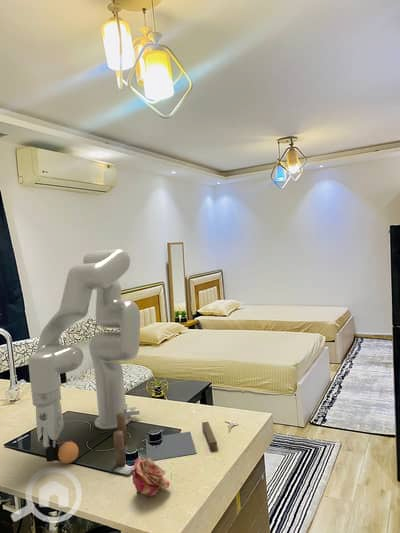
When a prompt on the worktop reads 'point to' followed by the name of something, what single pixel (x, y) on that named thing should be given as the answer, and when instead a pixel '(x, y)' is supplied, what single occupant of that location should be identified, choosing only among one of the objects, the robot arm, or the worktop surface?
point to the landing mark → (171, 447)
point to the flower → (148, 477)
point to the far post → (121, 425)
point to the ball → (68, 452)
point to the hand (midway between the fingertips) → (53, 459)
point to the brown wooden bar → (209, 436)
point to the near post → (119, 448)
